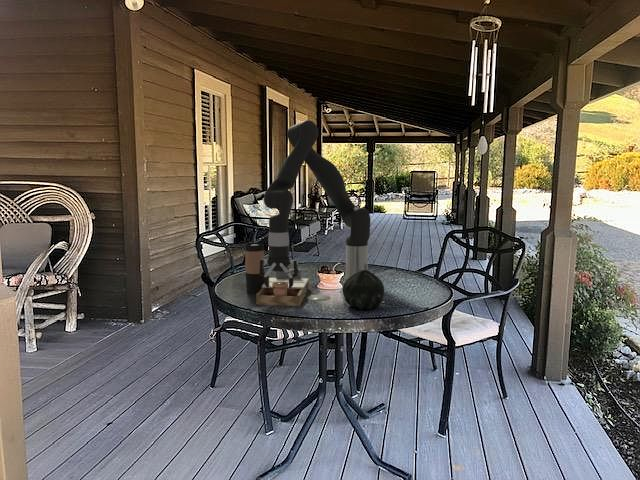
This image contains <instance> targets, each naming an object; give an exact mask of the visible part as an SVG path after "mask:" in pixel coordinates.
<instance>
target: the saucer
mask: <svg viewBox="0 0 640 480" xmlns="http://www.w3.org/2000/svg"><path fill="white" fill-rule="evenodd" d="M306 299H307V300H309V301H313V302H323V301H324V302H325V301H328V300H331V296H329V295H325V294H312V295H309V296H306Z"/></svg>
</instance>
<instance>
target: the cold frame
mask: <svg viewBox="0 0 640 480" xmlns="http://www.w3.org/2000/svg"><path fill="white" fill-rule="evenodd" d="M309 287H310V286H309V279H308V282H307V283H306V285H305V287H304V288H303V289H295V288H287V296H274V288H262V289H261V290H260V291H259V292H258V293H255V294H256V295H255V299H256V300H255V301H256V302H255V303H256V305H258V306H287V307H288V306H289V307H290V306H291V307H292V306H293V307H300V306H301V304H302V303H303V300H304V299H305V297H306V294H307V293H306V291H309Z"/></svg>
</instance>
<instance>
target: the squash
mask: <svg viewBox="0 0 640 480" xmlns="http://www.w3.org/2000/svg"><path fill="white" fill-rule="evenodd" d="M384 286H385V285H384V283H383V281H381V279H380V278H379V277H378V276H377V275H376V274H374V273H373V272H371V271H369V270H361V271H359V272H357V273H355V274H354V275H352V276H351V277H349V278H348V279H347V280H346V279H345V282H344V283H343V285H342V295H343V297H344V300H345V302H346V303H347V305H349V306H350V307H351V306H352V307H353V308H358V309H359V310H360V311H363V310H364V309H365V310H371V309H377V308H378V307H379V306H380V305H381V303H382V302H383V300H384V299H383V298H384V295H385V294H384V293H385V287H384Z"/></svg>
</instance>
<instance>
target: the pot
mask: <svg viewBox="0 0 640 480" xmlns="http://www.w3.org/2000/svg"><path fill="white" fill-rule="evenodd" d="M272 287H273V288H274V296H287V287H288V283H287V282H281V281H280V282H274V283H272Z"/></svg>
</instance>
